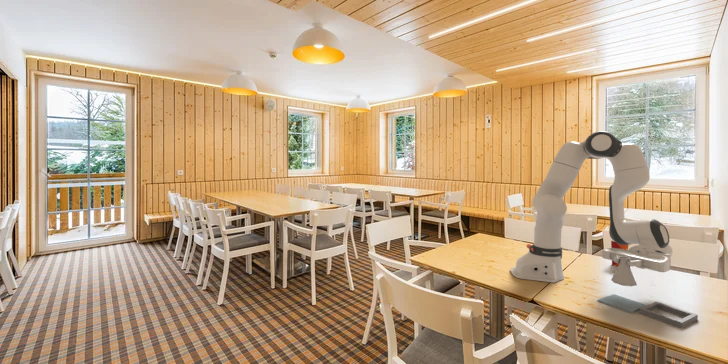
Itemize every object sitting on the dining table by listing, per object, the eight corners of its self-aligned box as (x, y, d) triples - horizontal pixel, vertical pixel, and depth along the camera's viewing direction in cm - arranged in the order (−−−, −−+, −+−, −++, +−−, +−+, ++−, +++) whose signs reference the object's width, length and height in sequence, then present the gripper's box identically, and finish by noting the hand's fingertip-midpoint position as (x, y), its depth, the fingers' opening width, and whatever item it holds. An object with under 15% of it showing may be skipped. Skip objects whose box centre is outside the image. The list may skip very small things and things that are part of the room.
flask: (625, 279, 126) (626, 254, 125) (641, 286, 118) (642, 259, 118) (606, 279, 126) (607, 254, 125) (621, 287, 118) (622, 260, 118)
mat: (631, 313, 115) (631, 311, 115) (597, 301, 125) (597, 299, 125) (647, 306, 120) (647, 305, 120) (613, 295, 130) (613, 294, 130)
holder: (681, 328, 105) (682, 322, 105) (639, 313, 115) (639, 308, 115) (697, 319, 110) (697, 314, 110) (655, 306, 120) (655, 301, 120)
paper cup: (622, 268, 160) (624, 240, 159) (606, 264, 167) (607, 237, 166) (632, 266, 163) (633, 239, 162) (615, 262, 170) (616, 235, 169)
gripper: (612, 242, 136) (593, 247, 130) (675, 255, 118) (656, 261, 112) (611, 257, 137) (592, 262, 131) (675, 272, 118) (656, 279, 112)
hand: (622, 262), depth 121 cm, fingers closed on flask, 3 cm apart
